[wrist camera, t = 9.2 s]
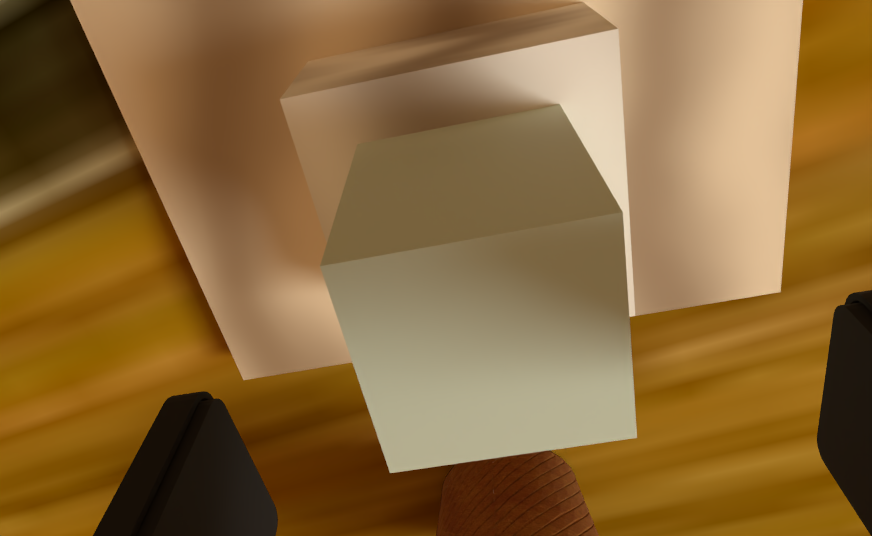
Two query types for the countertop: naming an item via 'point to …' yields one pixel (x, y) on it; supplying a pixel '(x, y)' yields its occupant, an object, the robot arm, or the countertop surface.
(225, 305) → the stack base
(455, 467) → the disposable coffee cup
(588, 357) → the sage block
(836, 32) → the countertop surface
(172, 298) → the countertop surface
